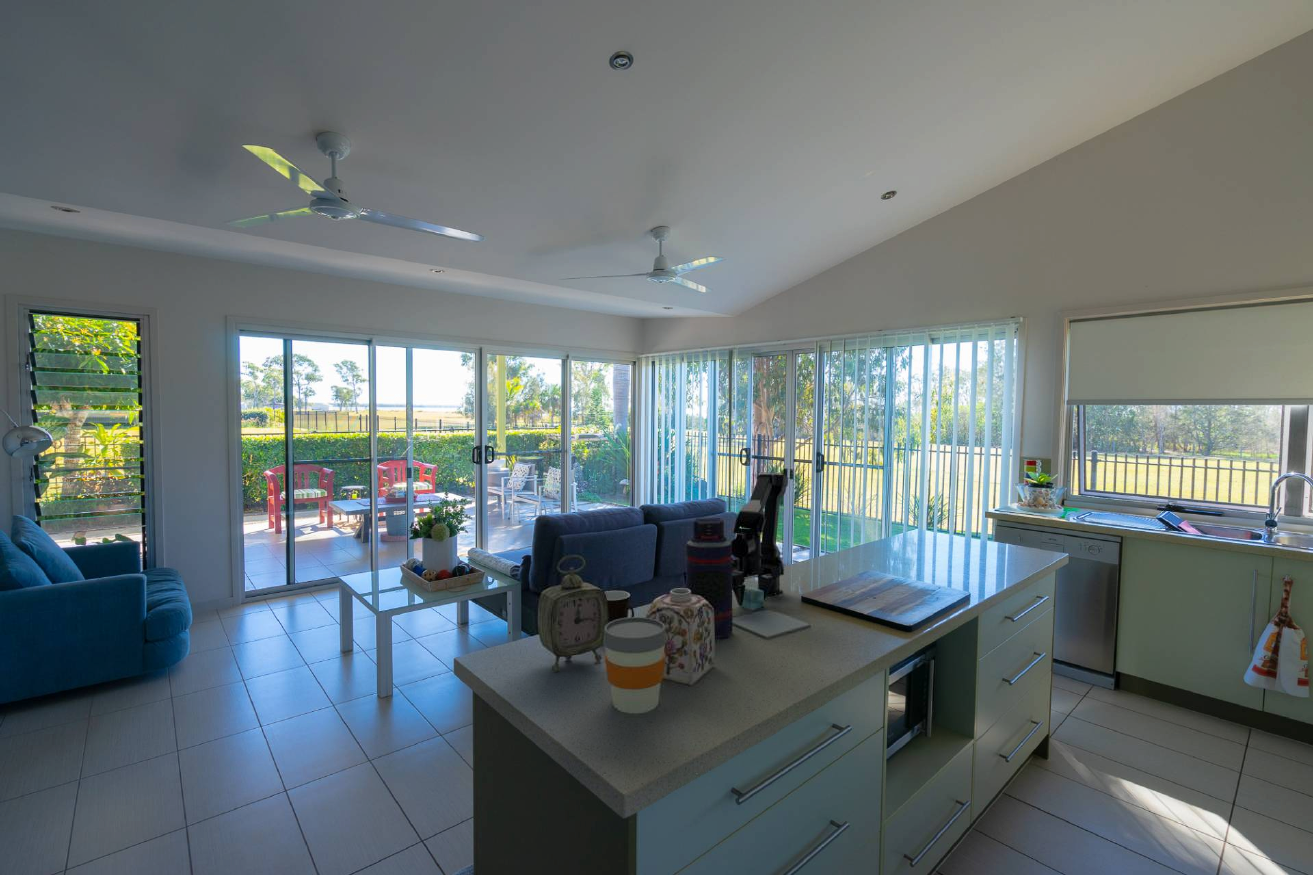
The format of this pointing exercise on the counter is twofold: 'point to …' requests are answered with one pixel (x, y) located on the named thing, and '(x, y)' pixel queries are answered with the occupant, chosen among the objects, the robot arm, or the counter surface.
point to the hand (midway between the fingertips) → (751, 603)
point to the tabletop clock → (572, 616)
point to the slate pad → (768, 623)
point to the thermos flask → (711, 570)
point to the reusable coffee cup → (635, 662)
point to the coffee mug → (618, 605)
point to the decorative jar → (686, 634)
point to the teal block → (753, 598)
